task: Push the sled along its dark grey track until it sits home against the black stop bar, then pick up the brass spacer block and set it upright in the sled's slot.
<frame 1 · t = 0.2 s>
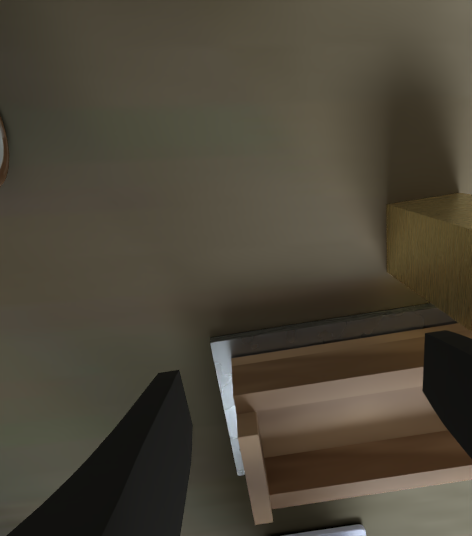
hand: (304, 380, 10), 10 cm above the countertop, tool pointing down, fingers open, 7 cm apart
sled: (415, 418, 19), point 3 cm above the countertop, slide at 5.0 cm
spacer: (421, 233, 19), on the countertop
track: (439, 375, 22), on the countertop
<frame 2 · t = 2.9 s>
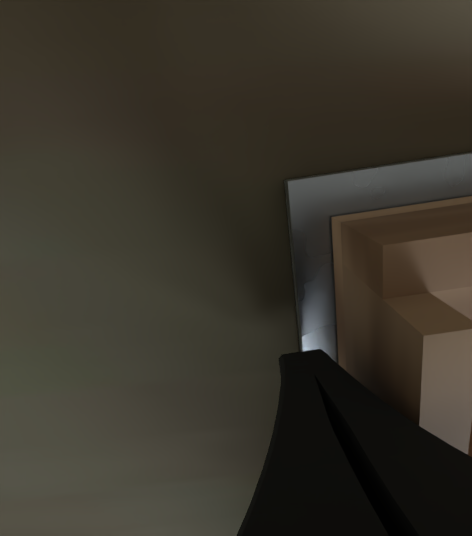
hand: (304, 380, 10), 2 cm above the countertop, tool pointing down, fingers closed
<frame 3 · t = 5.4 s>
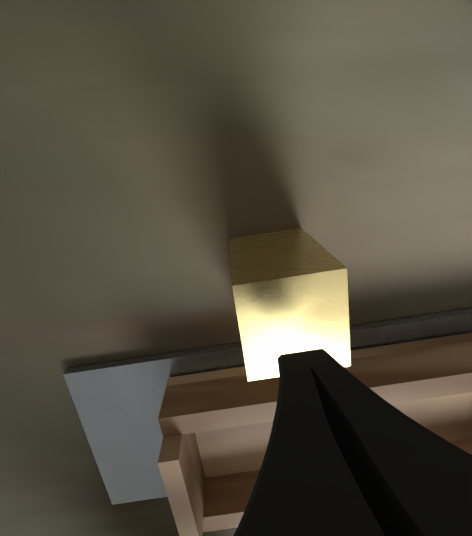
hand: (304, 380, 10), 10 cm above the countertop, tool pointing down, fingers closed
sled: (350, 441, 19), point 3 cm above the countertop, slide at 0.0 cm
spacer: (268, 267, 19), on the countertop
track: (308, 405, 22), on the countertop
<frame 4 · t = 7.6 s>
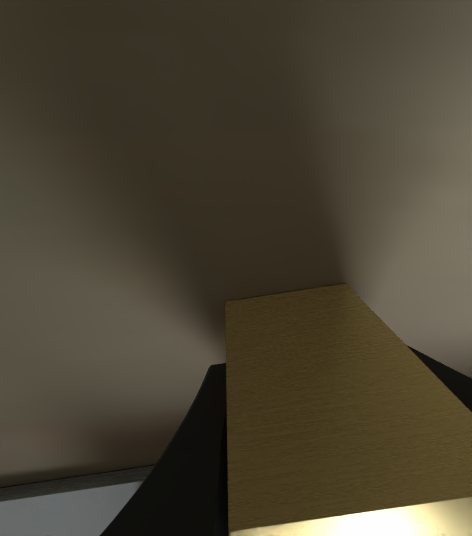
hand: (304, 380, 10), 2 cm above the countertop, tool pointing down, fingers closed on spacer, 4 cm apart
spacer: (291, 344, 11), on the countertop, touching gripper
track: (345, 533, 15), on the countertop
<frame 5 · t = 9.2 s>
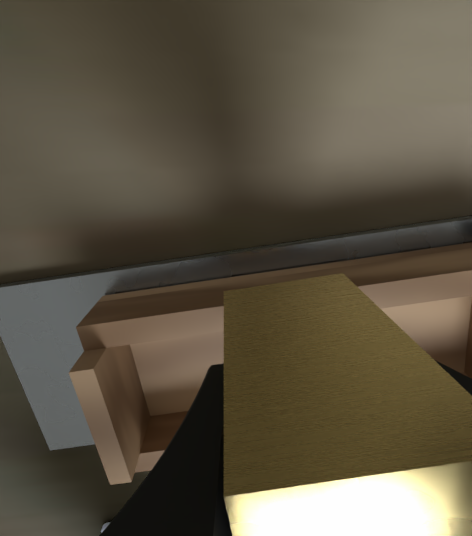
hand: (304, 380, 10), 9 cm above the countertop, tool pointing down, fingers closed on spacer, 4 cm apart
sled: (309, 365, 16), point 3 cm above the countertop, slide at 0.0 cm
spacer: (288, 334, 11), point 7 cm above the countertop, touching gripper
track: (268, 336, 19), on the countertop
when the fingers open (5 cm above the countertop, at t = 10.7 s): spacer stays where it is, resting on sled.
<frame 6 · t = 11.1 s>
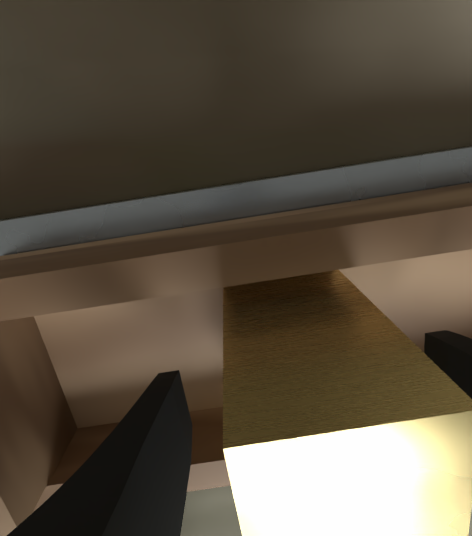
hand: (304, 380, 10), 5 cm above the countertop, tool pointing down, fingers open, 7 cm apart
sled: (295, 353, 11), point 3 cm above the countertop, slide at 0.0 cm, touching spacer
spacer: (284, 323, 12), point 2 cm above the countertop, touching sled
track: (241, 317, 14), on the countertop
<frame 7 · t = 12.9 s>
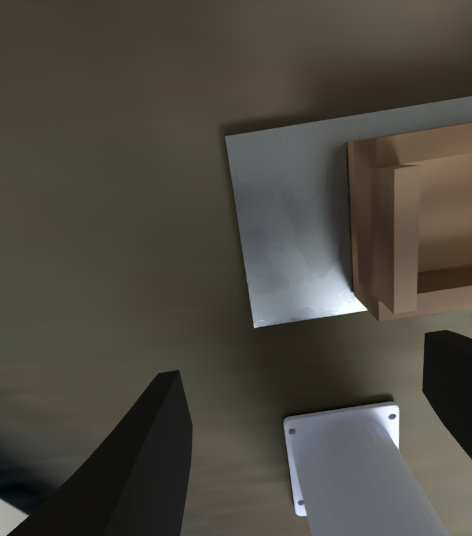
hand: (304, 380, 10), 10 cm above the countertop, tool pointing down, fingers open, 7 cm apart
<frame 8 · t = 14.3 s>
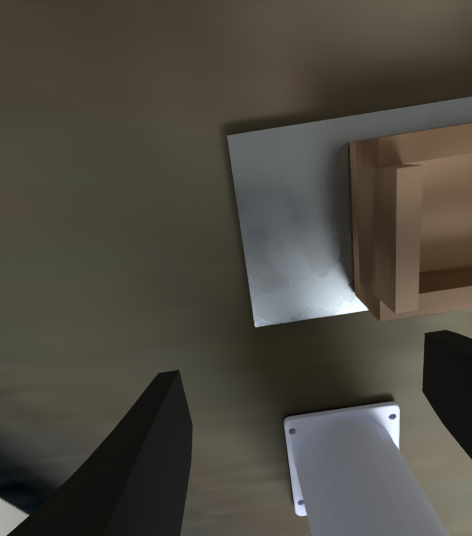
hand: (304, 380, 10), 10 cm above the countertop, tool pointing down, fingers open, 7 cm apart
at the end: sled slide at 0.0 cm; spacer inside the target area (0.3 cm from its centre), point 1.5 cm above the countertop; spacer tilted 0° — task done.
